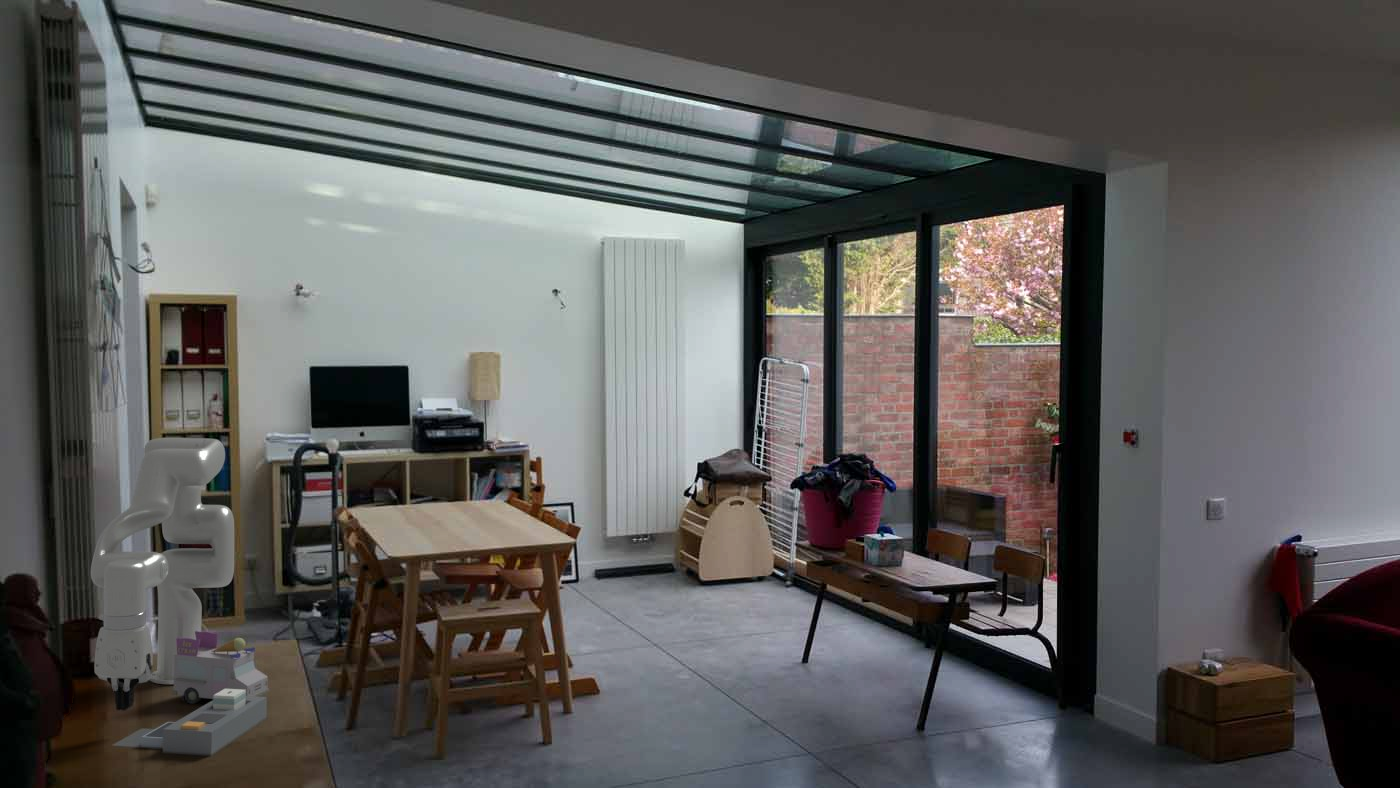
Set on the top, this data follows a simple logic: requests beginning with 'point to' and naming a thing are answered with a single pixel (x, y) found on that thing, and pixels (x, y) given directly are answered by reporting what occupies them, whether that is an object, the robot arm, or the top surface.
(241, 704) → the charger
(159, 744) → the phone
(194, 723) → the grey compartment tray
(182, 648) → the toy vehicle
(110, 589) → the robot arm
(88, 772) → the top surface
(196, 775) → the top surface
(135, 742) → the mat
